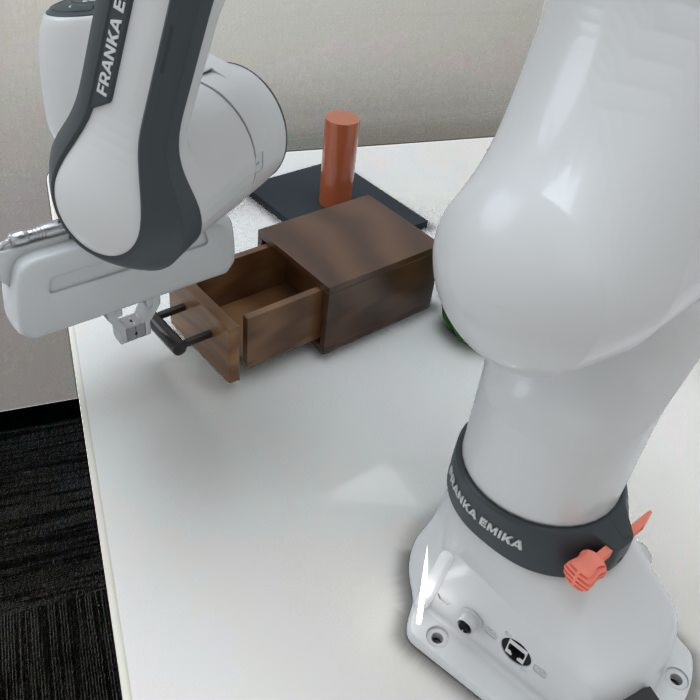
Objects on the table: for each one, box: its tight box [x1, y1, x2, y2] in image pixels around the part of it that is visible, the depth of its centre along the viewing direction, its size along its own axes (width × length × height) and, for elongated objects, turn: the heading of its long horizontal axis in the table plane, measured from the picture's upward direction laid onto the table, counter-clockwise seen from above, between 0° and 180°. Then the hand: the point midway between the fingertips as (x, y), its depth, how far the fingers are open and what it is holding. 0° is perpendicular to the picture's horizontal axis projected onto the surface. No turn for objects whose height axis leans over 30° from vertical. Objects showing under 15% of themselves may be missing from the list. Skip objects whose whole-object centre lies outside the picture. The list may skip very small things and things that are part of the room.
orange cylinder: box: [319, 109, 361, 208], centre depth 101 cm, size 4×4×12 cm
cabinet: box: [257, 195, 435, 355], centre depth 86 cm, size 16×13×9 cm
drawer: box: [150, 243, 324, 385], centre depth 79 cm, size 19×11×7 cm, turn 129°
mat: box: [248, 163, 429, 230], centre depth 105 cm, size 20×16×1 cm
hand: (132, 335), depth 72 cm, fingers closed
